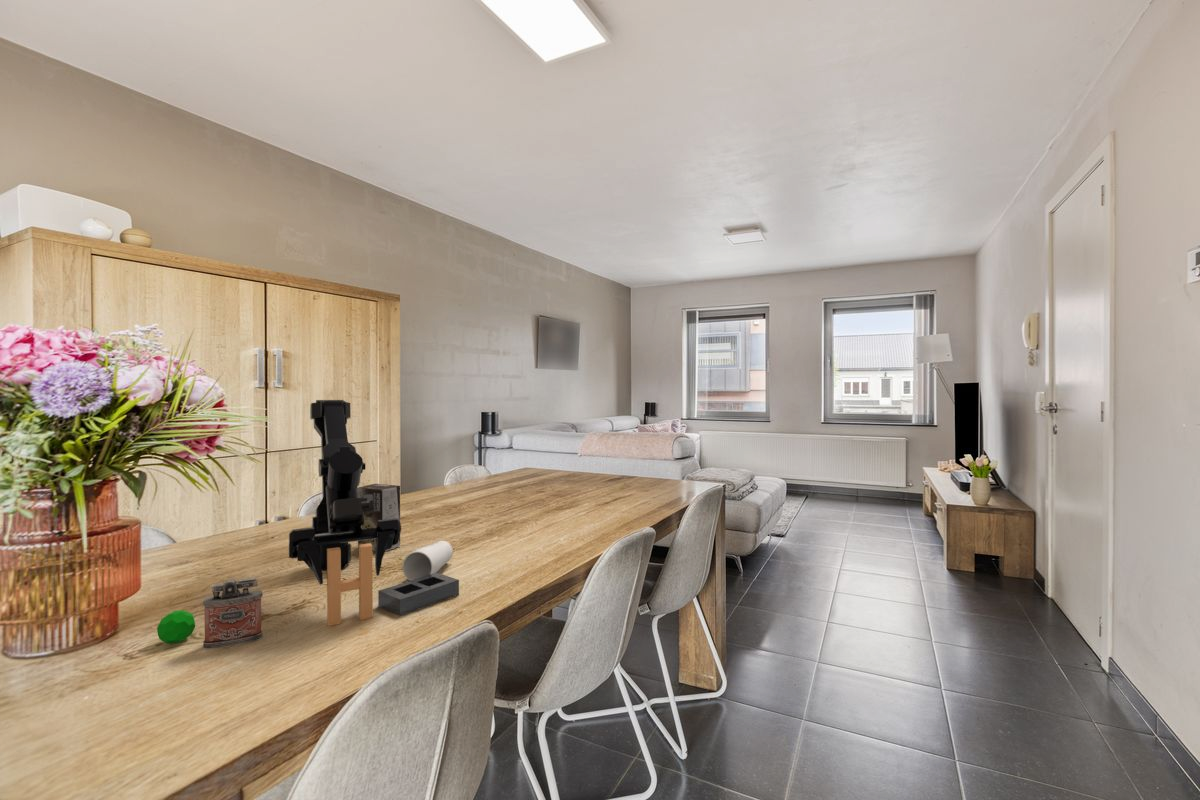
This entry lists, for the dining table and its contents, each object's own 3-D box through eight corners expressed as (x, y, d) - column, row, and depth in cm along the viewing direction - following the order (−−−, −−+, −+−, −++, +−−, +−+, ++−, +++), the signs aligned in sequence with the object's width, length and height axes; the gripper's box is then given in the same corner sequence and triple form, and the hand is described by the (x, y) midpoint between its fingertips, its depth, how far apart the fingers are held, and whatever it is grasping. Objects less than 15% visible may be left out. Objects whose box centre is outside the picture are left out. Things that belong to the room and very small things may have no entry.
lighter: (201, 651, 86) (201, 587, 86) (205, 642, 89) (204, 581, 89) (261, 640, 90) (261, 579, 90) (263, 632, 93) (263, 573, 93)
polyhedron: (179, 648, 87) (179, 618, 87) (148, 648, 87) (148, 618, 87) (202, 634, 92) (202, 606, 92) (174, 634, 92) (173, 606, 92)
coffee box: (401, 546, 144) (401, 485, 144) (382, 553, 138) (382, 489, 138) (376, 542, 148) (376, 482, 148) (356, 548, 142) (356, 486, 142)
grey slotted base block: (400, 615, 100) (400, 599, 100) (378, 606, 104) (378, 590, 104) (458, 594, 110) (458, 579, 110) (436, 586, 115) (436, 572, 115)
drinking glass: (457, 564, 130) (433, 582, 116) (430, 566, 131) (402, 584, 116) (455, 536, 131) (431, 549, 116) (428, 537, 131) (400, 552, 116)
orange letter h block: (328, 626, 95) (328, 551, 95) (327, 621, 97) (327, 548, 97) (372, 617, 99) (372, 545, 99) (370, 613, 101) (370, 543, 101)
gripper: (289, 484, 97) (291, 563, 88) (399, 476, 107) (411, 547, 97) (287, 520, 104) (289, 596, 94) (391, 509, 113) (402, 578, 104)
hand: (350, 578), depth 97 cm, fingers open, 9 cm apart
